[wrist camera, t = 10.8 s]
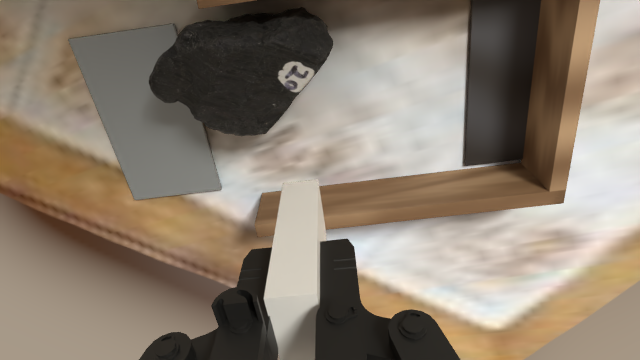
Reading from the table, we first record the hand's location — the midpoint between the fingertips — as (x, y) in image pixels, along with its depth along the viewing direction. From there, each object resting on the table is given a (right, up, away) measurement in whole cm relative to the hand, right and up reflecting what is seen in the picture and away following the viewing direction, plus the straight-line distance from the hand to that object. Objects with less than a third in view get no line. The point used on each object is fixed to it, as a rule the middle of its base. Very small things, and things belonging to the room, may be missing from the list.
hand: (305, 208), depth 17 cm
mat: (-13, +6, +16) cm, 21 cm away
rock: (-9, +12, +13) cm, 19 cm away
